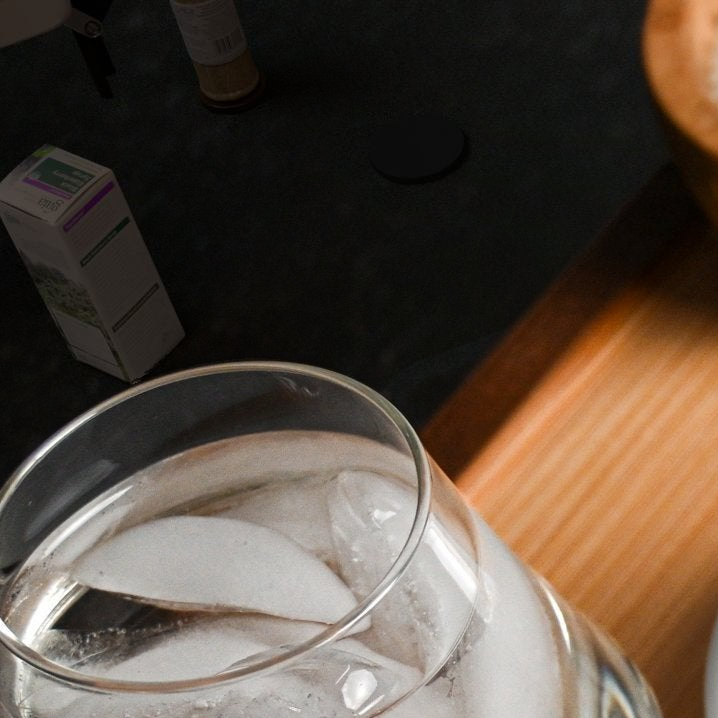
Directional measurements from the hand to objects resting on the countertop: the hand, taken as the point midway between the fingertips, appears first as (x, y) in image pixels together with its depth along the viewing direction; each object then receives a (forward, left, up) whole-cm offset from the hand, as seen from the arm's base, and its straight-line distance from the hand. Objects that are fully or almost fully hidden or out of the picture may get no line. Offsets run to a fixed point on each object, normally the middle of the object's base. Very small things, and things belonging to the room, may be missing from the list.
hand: (25, 112), depth 116 cm
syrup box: (0, 0, -20) cm, 20 cm away
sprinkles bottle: (+14, +23, -19) cm, 33 cm away
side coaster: (+24, +10, -19) cm, 32 cm away
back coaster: (+14, +23, -19) cm, 33 cm away
